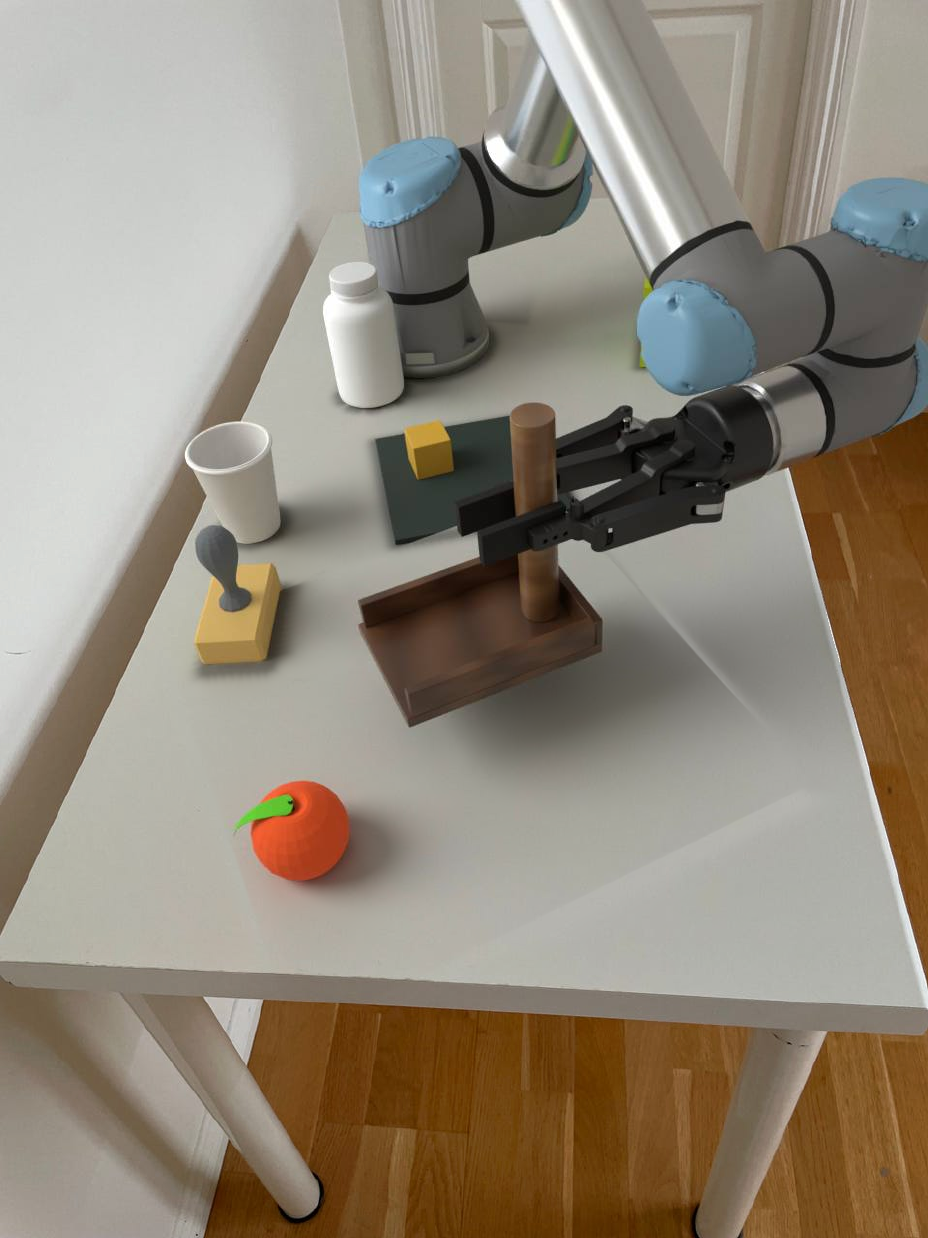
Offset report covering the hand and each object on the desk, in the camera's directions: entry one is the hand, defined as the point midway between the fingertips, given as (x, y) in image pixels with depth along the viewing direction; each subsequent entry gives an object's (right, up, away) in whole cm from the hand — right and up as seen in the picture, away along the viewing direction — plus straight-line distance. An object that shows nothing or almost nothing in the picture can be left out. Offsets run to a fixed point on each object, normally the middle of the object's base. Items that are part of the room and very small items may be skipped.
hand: (469, 533), depth 66 cm
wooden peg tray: (+1, -8, +8) cm, 11 cm away
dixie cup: (-22, +4, +31) cm, 38 cm away
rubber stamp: (-20, -7, +20) cm, 30 cm away
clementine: (-12, -24, +3) cm, 27 cm away
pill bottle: (-11, +21, +47) cm, 53 cm away
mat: (0, +9, +34) cm, 35 cm away
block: (-2, +12, +33) cm, 36 cm away
